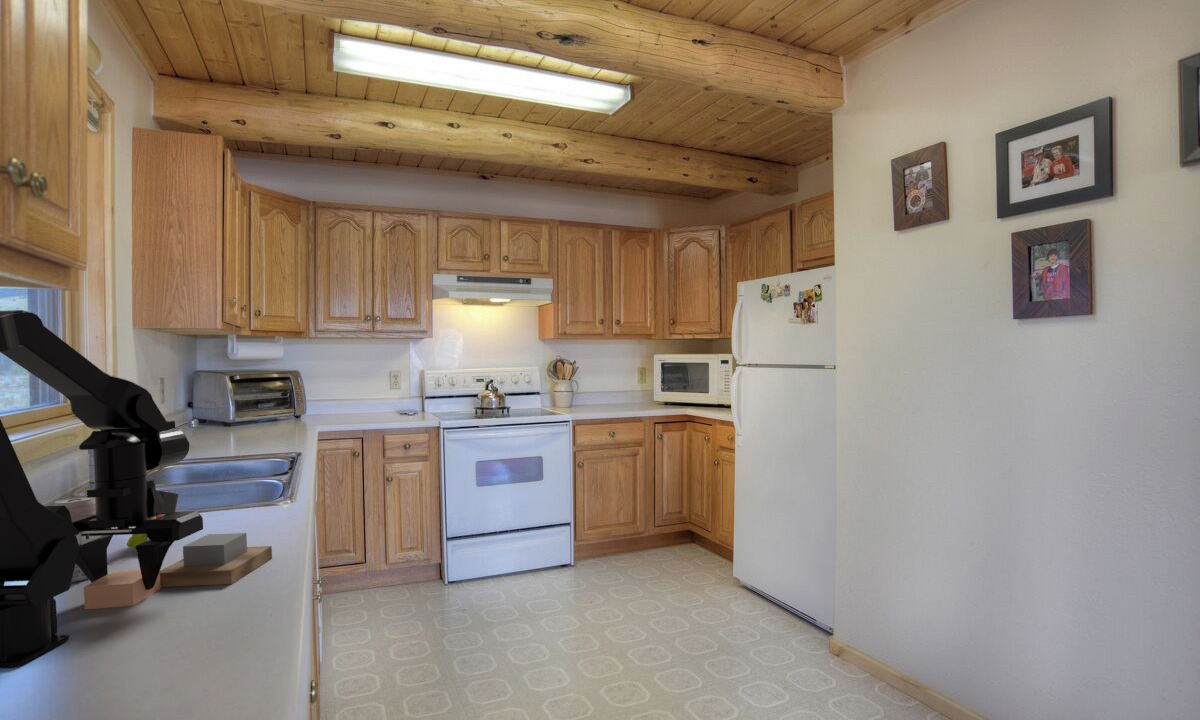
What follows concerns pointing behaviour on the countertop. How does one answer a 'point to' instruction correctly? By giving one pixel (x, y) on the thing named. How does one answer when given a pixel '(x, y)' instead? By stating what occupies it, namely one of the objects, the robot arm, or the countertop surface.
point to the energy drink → (78, 507)
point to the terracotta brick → (118, 590)
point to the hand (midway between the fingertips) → (126, 589)
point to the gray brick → (214, 549)
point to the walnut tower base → (215, 570)
